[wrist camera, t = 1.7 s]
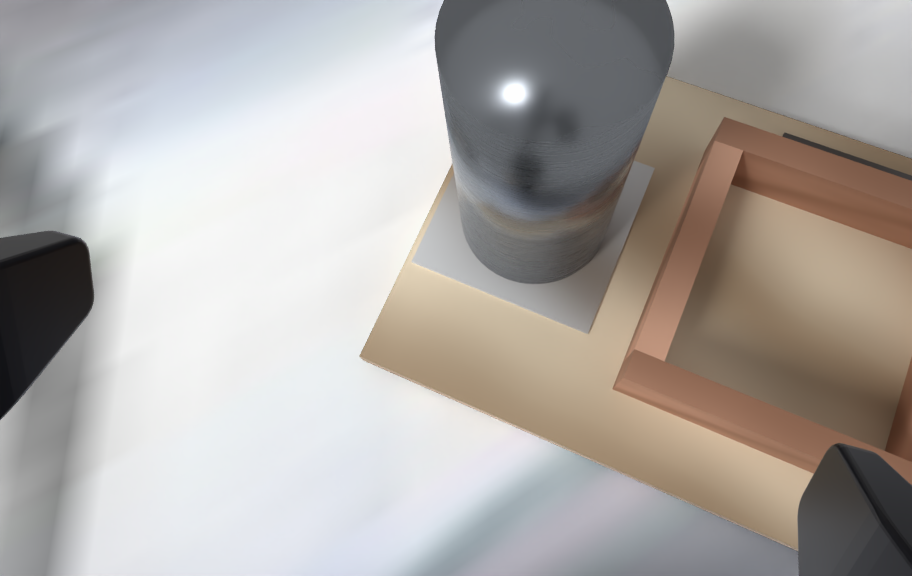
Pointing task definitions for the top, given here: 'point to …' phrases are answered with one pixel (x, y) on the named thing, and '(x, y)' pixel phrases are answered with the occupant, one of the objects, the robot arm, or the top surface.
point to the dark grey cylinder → (546, 121)
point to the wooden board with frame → (692, 314)
